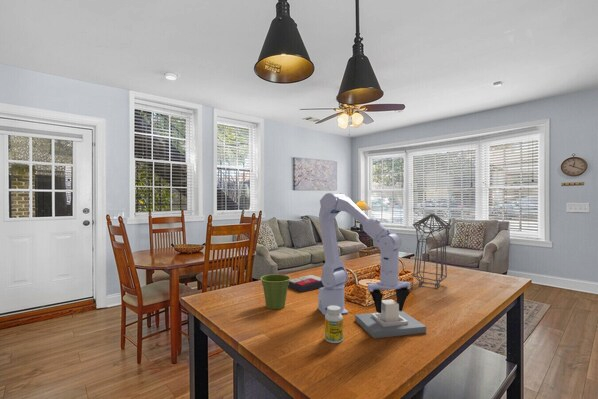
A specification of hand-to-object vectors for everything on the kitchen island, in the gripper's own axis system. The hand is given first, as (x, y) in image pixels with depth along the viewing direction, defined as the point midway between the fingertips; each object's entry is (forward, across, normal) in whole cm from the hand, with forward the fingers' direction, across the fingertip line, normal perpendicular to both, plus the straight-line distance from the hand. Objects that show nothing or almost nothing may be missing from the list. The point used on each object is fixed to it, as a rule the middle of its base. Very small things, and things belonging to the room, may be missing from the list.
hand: (389, 311), depth 101 cm
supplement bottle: (+5, -21, -5) cm, 22 cm away
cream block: (+3, 0, 0) cm, 3 cm away
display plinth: (+5, 0, 0) cm, 5 cm away
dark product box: (+6, -16, +49) cm, 52 cm away
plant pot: (+5, -34, +26) cm, 43 cm away
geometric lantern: (+5, +44, +38) cm, 58 cm away
